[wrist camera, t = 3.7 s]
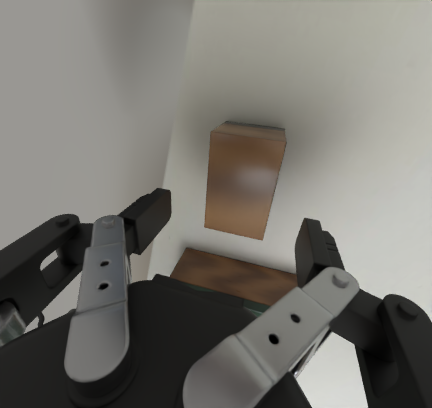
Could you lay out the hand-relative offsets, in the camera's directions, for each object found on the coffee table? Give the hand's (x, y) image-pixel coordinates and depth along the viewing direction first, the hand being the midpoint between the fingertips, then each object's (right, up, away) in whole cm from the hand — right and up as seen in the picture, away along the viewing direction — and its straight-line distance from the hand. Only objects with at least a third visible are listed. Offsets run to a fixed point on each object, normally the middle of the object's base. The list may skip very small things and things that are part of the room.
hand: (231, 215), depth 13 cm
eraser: (+2, +4, +7) cm, 9 cm away
